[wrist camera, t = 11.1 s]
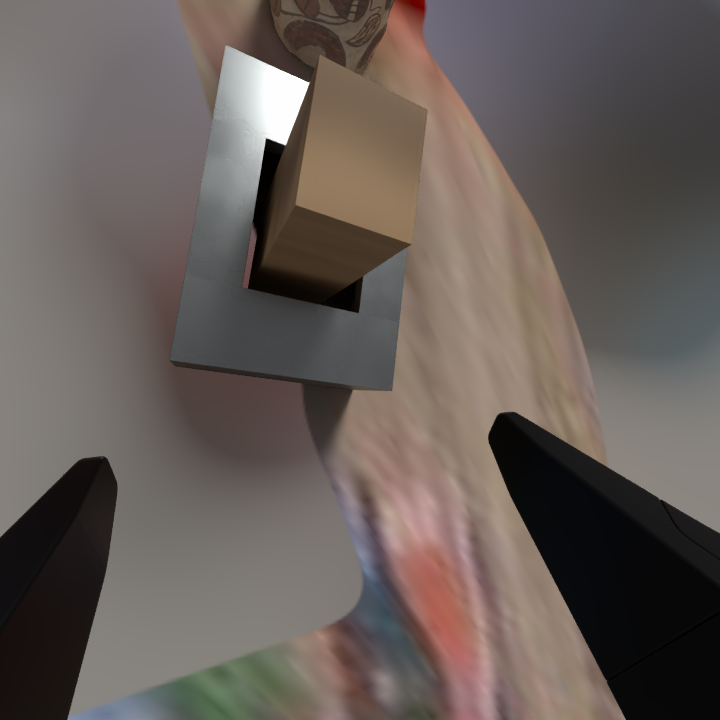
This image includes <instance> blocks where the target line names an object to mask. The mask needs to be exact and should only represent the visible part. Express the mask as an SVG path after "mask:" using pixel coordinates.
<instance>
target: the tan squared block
mask: <svg viewBox="0 0 720 720" xmlns="http://www.w3.org/2000/svg"><path fill="white" fill-rule="evenodd" d="M427 111H428V110H427V109H425V108H423V107H421V106H419V105H417V104H415V103H413V102H411V101H409V100H407V99H405V98H403V97H401V96H399V95H397V94H396V93H394V92H392V91H390V90H388V89H386V88H384V87H382V86H380V85H378V84H376V83H374V82H372V81H370V80H368V79H366V78H364V77H362V76H360V75H358V74H356V73H354V72H353V71H351V70H349V69H347V68H345V67H343V66H341V65H339V64H337V63H335V62H333V61H331V60H329V59H327V58H325V57H323V56H321V55H320V56H319V58H318V61H317V64H316V66H315V69H314V71H313V74H312V77H311V79H310V82H309V85H308V87H307V90H306V93H305V95H304V98H303V101H302V103H301V106H300V109H299V111H298V114H297V117H296V119H295V122H294V125H293V127H292V130H291V133H290V135H289V138H288V140H287V143H286V146H285V148H284V151H283V154H282V156H281V159H280V162H279V164H278V167H277V170H276V172H275V175H274V178H273V180H272V183H271V186H270V188H269V191H268V194H267V196H266V199H265V201H264V204H263V207H262V211H261V216H260V222H259V228H258V234H257V239H256V245H255V251H254V257H253V262H252V268H251V274H250V279H249V286H248V289H251V290H256V291H260V292H265V293H269V294H274V295H278V296H283V297H287V298H292V299H296V300H301V301H305V302H310V303H314V304H319V305H320V304H321V303H323V302H324V301H326V300H327V299H329V298H330V297H332V296H333V295H335V294H336V293H338V292H339V291H341V290H342V289H344V288H346V287H347V286H349V285H350V284H352V283H353V282H355V281H356V280H358V279H359V278H361V277H362V276H364V275H365V274H367V273H368V272H370V271H372V270H373V269H375V268H376V267H378V266H379V265H381V264H382V263H384V262H385V261H387V260H388V259H390V258H391V257H393V256H394V255H396V254H397V253H399V252H401V251H402V250H404V249H405V248H407V247H408V246H410V245H411V244H412V237H413V228H414V220H415V211H416V203H417V195H418V186H419V178H420V170H421V161H422V153H423V145H424V136H425V128H426V119H427Z"/></svg>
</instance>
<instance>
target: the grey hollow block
mask: <svg viewBox="0 0 720 720" xmlns="http://www.w3.org/2000/svg"><path fill="white" fill-rule="evenodd" d="M308 85H309V83H308V82H305V81H303V80H301V79H299V78H297V77H295V76H292V75H290V74H288V73H286V72H284V71H281V70H279V69H277V68H275V67H273V66H271V65H268V64H266V63H264V62H262V61H260V60H257V59H255V58H253V57H251V56H249V55H247V54H244V53H242V52H240V51H238V50H236V49H233V48H231V47H229V46H227V45H226V47H225V53H224V58H223V64H222V69H221V75H220V81H219V86H218V92H217V97H216V103H215V109H214V114H213V120H212V125H211V131H210V137H209V143H208V148H207V153H206V159H205V165H204V170H203V176H202V181H201V187H200V193H199V198H198V204H197V210H196V215H195V221H194V226H193V232H192V237H191V243H190V249H189V254H188V260H187V266H186V271H185V277H184V282H183V288H182V293H181V299H180V305H179V310H178V316H177V322H176V327H175V333H174V338H173V344H172V349H171V355H170V361H171V362H172V363H173V364H174V365H175V366H177V367H185V368H192V369H200V370H207V371H215V372H223V373H230V374H238V375H245V376H253V377H260V378H267V379H276V380H283V381H290V382H297V383H305V384H312V385H320V386H327V387H335V388H342V389H349V390H374V391H392V386H393V377H394V367H395V358H396V348H397V339H398V329H399V320H400V310H401V301H402V291H403V282H404V272H405V263H406V253H407V248H405V249H404V250H402V251H401V252H399V253H397V254H396V255H394V256H393V257H391V258H390V259H388V260H387V261H385V262H384V263H382V264H381V265H379V266H378V267H376V268H375V269H373V270H372V271H370V272H368V273H367V274H365V275H364V276H362V277H361V278H359V279H358V280H356V281H355V282H354V288H353V296H352V304H351V312H350V311H346V310H341V309H337V308H332V307H328V306H323V305H319V304H314V303H310V302H305V301H301V300H296V299H292V298H287V297H283V296H278V295H274V294H269V293H265V292H260V291H256V290H251V289H246V288H242V285H243V279H244V272H245V266H246V260H247V254H248V247H249V241H250V235H251V228H252V222H253V216H254V210H255V203H256V197H257V191H258V184H259V178H260V172H261V165H262V159H263V153H264V150H266V151H269V152H272V153H274V154H277V155H280V156H282V154H283V151H284V148H285V146H286V143H287V140H288V138H289V135H290V133H291V130H292V127H293V125H294V122H295V119H296V117H297V114H298V111H299V109H300V106H301V103H302V101H303V98H304V95H305V93H306V90H307V87H308Z"/></svg>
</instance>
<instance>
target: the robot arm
mask: <svg viewBox="0 0 720 720" xmlns="http://www.w3.org/2000/svg"><path fill="white" fill-rule="evenodd" d="M488 440H489V444H490V447H491V449H492V452H493V454H494V457H495V459H496V462H497V464H498V467H499V469H500V472H501V474H502V477H503V479H504V482H505V484H506V487H507V489H508V491H509V494H510V496H511V498H512V500H513V502H514V504H515V506H516V508H517V510H518V512H519V514H520V516H521V518H522V519H523V521H524V523H525V525H526V527H527V529H528V531H529V533H530V535H531V537H532V539H533V541H534V543H535V545H536V546H537V548H538V550H539V552H540V554H541V556H542V558H543V560H544V562H545V564H546V566H547V568H548V570H549V572H550V573H551V575H552V577H553V579H554V581H555V583H556V585H557V587H558V589H559V591H560V593H561V595H562V597H563V599H564V600H565V602H566V604H567V606H568V608H569V610H570V612H571V614H572V616H573V618H574V620H575V622H576V624H577V626H578V627H579V629H580V631H581V633H582V635H583V637H584V639H585V641H586V643H587V645H588V647H589V649H590V651H591V653H592V654H593V656H594V658H595V660H596V662H597V664H598V666H599V668H600V670H601V672H602V674H603V676H604V678H605V679H606V680H607V684H608V686H609V688H610V690H611V692H612V694H613V695H614V697H615V699H616V701H617V703H618V705H619V707H620V709H621V711H622V713H623V715H624V717H625V719H626V720H720V533H718V532H716V531H714V530H713V529H711V528H709V527H707V526H705V525H704V524H702V523H700V522H699V521H697V520H695V519H693V518H692V517H690V516H688V515H686V514H685V513H683V512H681V511H680V510H678V509H676V508H675V507H673V506H671V505H670V504H668V503H666V502H665V501H663V500H659V498H658V497H656V496H654V495H653V494H651V493H649V492H648V491H646V490H645V489H643V488H641V487H639V486H638V485H636V484H635V483H633V482H631V481H629V480H628V479H626V478H625V477H623V476H621V475H619V474H618V473H616V472H614V471H613V470H611V469H609V468H608V467H606V466H604V465H603V464H601V463H599V462H598V461H596V460H594V459H593V458H591V457H589V456H588V455H586V454H584V453H583V452H581V451H579V450H578V449H576V448H574V447H573V446H571V445H569V444H568V443H566V442H564V441H563V440H561V439H559V438H558V437H556V436H554V435H553V434H551V433H549V432H548V431H546V430H544V429H543V428H541V427H539V426H538V425H536V424H534V423H533V422H531V421H529V420H528V419H526V418H524V417H523V416H521V415H519V414H518V413H516V412H504V413H500V414H498V415H497V417H496V419H495V421H494V423H493V426H492V428H491V430H490V432H489V435H488ZM116 499H117V481H116V479H115V476H114V474H113V471H112V469H111V466H110V464H109V461H108V459H107V458H106V457H104V456H100V457H91V458H83V459H81V460H79V461H78V462H77V463H75V464H74V465H73V466H72V467H71V468H70V469H69V470H68V471H67V472H66V473H65V474H64V475H63V476H62V477H61V478H60V479H59V480H58V481H57V482H56V483H55V484H54V485H53V486H52V487H51V488H50V489H49V490H48V491H47V492H46V493H45V494H44V495H43V496H42V497H41V498H40V499H39V500H38V501H37V502H36V503H35V504H34V505H33V506H32V507H31V508H30V509H29V510H28V511H27V512H26V513H25V514H24V515H23V516H22V517H21V518H20V519H18V521H17V522H15V524H13V525H12V526H11V527H10V528H9V529H8V530H7V531H6V532H5V533H4V534H3V535H2V536H1V537H0V720H67V719H68V715H69V711H70V707H71V703H72V699H73V696H74V692H75V687H76V684H77V681H78V677H79V673H80V669H81V665H82V661H83V658H84V654H85V650H86V646H87V642H88V639H89V635H90V631H91V627H92V623H93V620H94V616H95V612H96V608H97V605H98V601H99V597H100V593H101V589H102V585H103V582H104V577H105V573H106V568H107V562H108V556H109V549H110V542H111V535H112V528H113V521H114V512H115V506H116Z"/></svg>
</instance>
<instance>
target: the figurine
mask: <svg viewBox="0 0 720 720" xmlns="http://www.w3.org/2000/svg"><path fill="white" fill-rule="evenodd" d="M393 3H394V0H270V6H271V12H272V17H273V21H274V26H275V29H276V32H277V34H278V36H279V37H280V39H281V41H282V42H283V44H284V45H285V47H286V48H287V49H288V51H289V52H290V53H292V54H294V55H296V56H297V57H298V58H299V59H300V60H301V61H303V62H304V63H305V64H307V65H309V66H311V67H313V68H314V69H315V66H316V64H317V61H318V58H319V56H320V55H321V56H323V57H325V58H327V59H329V60H331V61H333V62H335V63H337V64H339V65H341V66H343V67H345V68H347V69H349V70H351V71H353V72H354V73H356V74H358V75H361V74H362V71H363V70H364V68H365V66H366V64H367V63H368V62H369V60H370V57H371V55H372V54H373V52H374V51H375V49H376V47H377V45H378V44H379V42H380V40H381V39H382V37H383V35H384V33H385V31H386V26H387V21H388V17H389V13H390V10H391V8H392V5H393Z"/></svg>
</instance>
